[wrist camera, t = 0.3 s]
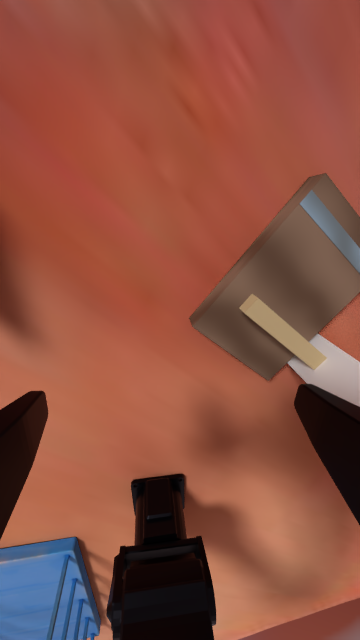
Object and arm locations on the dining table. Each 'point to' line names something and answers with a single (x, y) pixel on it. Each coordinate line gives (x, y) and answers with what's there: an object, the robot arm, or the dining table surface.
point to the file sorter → (46, 593)
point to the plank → (288, 277)
